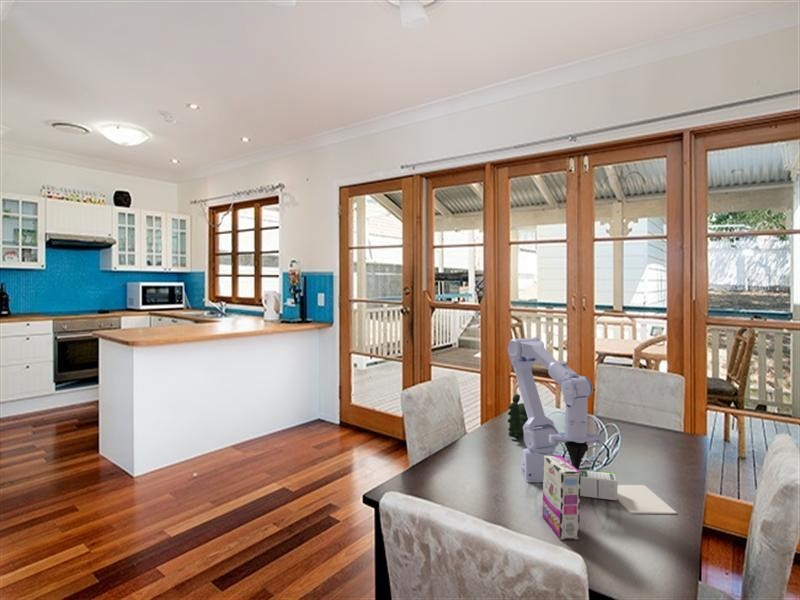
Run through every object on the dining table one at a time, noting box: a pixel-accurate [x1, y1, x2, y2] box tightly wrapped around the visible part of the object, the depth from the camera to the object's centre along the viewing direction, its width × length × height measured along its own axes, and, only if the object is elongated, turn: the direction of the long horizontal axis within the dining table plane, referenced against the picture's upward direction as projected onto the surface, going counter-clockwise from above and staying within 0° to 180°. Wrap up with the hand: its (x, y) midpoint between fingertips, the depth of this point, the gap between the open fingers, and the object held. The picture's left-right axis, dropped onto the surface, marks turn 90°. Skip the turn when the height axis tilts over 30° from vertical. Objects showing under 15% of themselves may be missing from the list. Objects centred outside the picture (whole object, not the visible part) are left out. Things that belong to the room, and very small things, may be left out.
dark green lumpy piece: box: [507, 393, 528, 439], centre depth 181 cm, size 9×19×25 cm
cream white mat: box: [616, 484, 678, 515], centre depth 127 cm, size 12×16×1 cm
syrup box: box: [577, 468, 618, 501], centre depth 130 cm, size 6×6×14 cm
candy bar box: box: [542, 454, 581, 541], centre depth 112 cm, size 11×5×16 cm, turn 5°
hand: (575, 467), depth 127 cm, fingers closed
